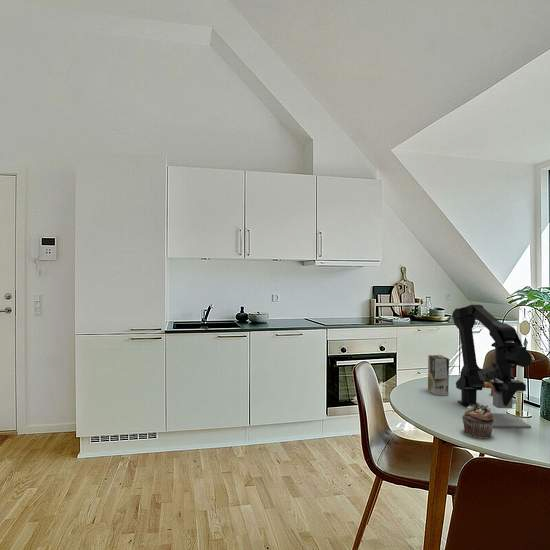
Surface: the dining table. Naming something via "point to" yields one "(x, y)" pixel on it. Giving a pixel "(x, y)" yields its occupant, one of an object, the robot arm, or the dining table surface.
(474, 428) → the cupcake
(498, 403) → the plug
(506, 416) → the coaster
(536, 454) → the dining table surface
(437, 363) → the coffee box
